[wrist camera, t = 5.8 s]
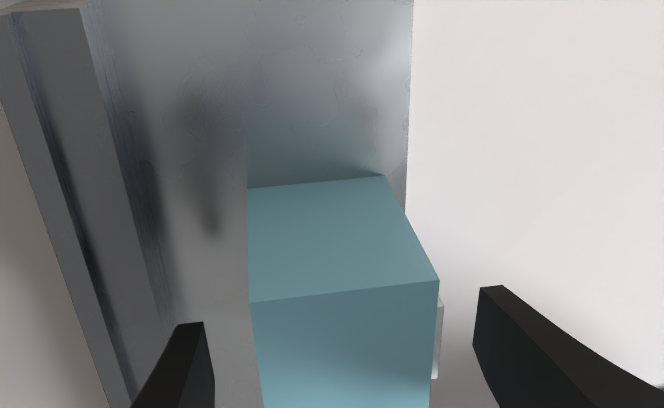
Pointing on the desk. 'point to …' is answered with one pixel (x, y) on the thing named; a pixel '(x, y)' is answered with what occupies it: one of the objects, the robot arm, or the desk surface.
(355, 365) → the block
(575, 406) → the robot arm
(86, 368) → the desk surface
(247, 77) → the rail board
